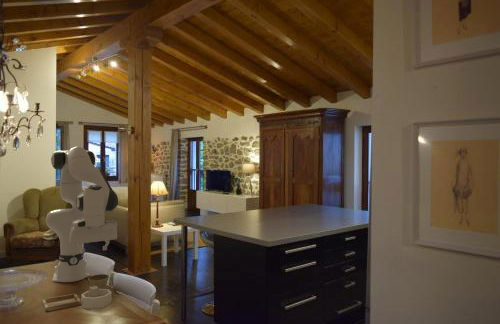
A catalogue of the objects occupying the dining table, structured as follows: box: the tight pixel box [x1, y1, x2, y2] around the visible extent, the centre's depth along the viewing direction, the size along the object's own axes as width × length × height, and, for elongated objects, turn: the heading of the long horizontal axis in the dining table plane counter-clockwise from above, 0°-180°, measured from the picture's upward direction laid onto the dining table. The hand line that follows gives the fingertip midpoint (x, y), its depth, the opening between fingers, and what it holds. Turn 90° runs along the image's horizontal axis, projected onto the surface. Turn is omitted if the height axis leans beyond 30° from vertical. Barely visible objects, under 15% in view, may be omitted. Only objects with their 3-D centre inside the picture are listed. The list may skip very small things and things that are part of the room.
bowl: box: [80, 288, 113, 310], centre depth 167 cm, size 12×12×5 cm
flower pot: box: [87, 273, 110, 289], centre depth 180 cm, size 9×9×9 cm
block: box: [89, 286, 99, 297], centre depth 168 cm, size 4×3×4 cm
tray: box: [41, 292, 82, 312], centre depth 167 cm, size 12×14×2 cm
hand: (93, 251), depth 168 cm, fingers open, 8 cm apart
